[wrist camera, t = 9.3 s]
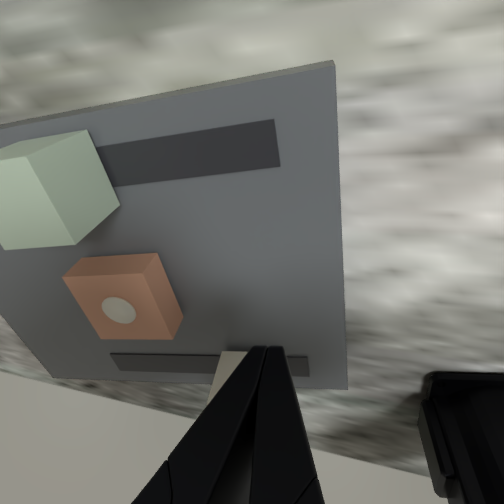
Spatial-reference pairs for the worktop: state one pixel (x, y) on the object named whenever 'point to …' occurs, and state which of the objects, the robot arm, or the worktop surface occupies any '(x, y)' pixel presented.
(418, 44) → the worktop surface
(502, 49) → the worktop surface
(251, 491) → the robot arm
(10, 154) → the sage slider
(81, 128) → the control panel
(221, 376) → the cream slider
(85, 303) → the terracotta button
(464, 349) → the worktop surface
